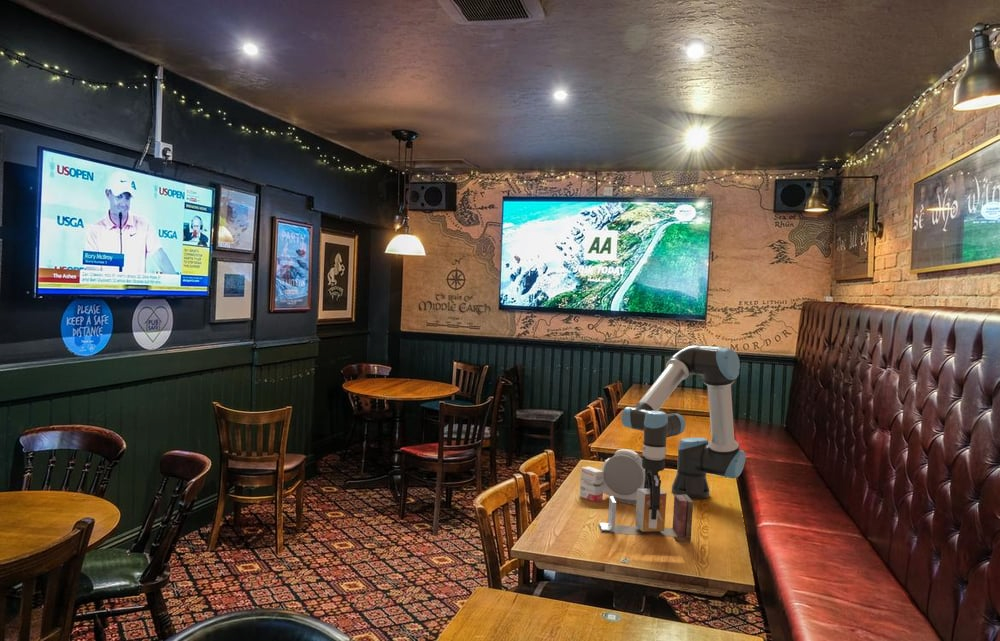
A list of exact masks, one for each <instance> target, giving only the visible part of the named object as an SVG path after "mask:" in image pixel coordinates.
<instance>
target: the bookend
mask: <svg viewBox="0 0 1000 641" xmlns="http://www.w3.org/2000/svg"><path fill="white" fill-rule="evenodd" d="M608 500H609V502H608V518H607V519H608V520H607V522H599V524H600V527H601V530H602V531H611V532H615V525H616V513H617V501H615V499H614V497H613V496H610V497H608Z"/></svg>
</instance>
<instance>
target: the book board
mask: <svg viewBox="0 0 1000 641" xmlns="http://www.w3.org/2000/svg"><path fill="white" fill-rule="evenodd" d="M673 497H674V498H673V514H672V527H664V531H646V532H642V531H641V530H640V529H639V528H638V527H637V526H635V525H624V524H622V525H620V524H615V532H611V531H602V530H601V527H600V523H597V526H598V528H599V531H600V534H616V535H632V536H633V535H634V536H635V535H636V536H651V537H652V536H653V537H656V536H657V537H668V538H669V537H672V538H674V540H675V542H683V541H684V542H685V543H688V542H689V543H691V542H692V528H693V526H692V525H693V510H694V509H693V508H694V501H693V500H692V499H691V498H689V497H688V495H685V494H682V495H676V494H674V496H673ZM684 542H683V543H684Z"/></svg>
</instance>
